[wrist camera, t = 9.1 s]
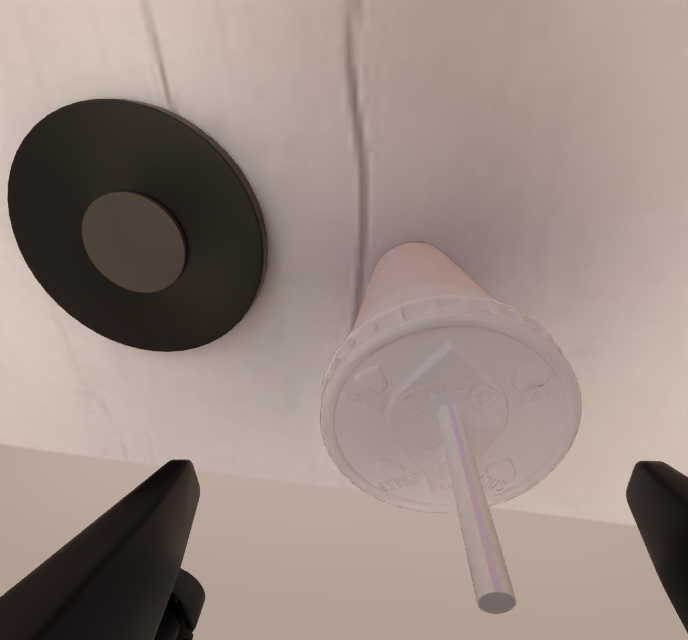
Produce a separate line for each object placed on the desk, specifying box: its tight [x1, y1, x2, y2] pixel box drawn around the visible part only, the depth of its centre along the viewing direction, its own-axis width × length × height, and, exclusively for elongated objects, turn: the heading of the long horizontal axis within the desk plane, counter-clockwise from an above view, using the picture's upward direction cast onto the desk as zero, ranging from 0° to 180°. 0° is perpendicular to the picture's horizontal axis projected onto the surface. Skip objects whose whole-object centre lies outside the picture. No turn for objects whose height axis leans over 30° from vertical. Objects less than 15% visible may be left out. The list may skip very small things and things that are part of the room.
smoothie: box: [320, 242, 582, 614], centre depth 13 cm, size 6×6×14 cm
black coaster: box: [8, 99, 267, 352], centre depth 18 cm, size 11×11×1 cm
